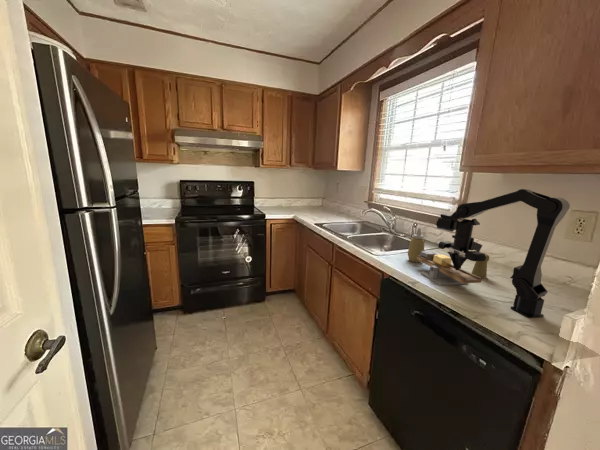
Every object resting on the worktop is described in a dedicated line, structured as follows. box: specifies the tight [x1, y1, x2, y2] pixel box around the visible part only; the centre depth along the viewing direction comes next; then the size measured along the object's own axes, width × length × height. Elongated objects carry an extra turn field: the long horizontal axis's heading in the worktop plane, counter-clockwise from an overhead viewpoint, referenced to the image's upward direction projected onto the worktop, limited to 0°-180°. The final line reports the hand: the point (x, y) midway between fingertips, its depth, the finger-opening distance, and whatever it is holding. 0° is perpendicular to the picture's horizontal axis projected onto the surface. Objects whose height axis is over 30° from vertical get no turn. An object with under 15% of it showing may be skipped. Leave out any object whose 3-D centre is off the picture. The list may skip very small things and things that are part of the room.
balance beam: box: [417, 256, 483, 284], centre depth 112 cm, size 28×9×2 cm, turn 12°
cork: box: [470, 253, 490, 280], centre depth 117 cm, size 6×6×11 cm
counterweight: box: [420, 250, 438, 260], centre depth 123 cm, size 5×5×3 cm
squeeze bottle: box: [407, 227, 425, 263], centre depth 134 cm, size 8×8×18 cm
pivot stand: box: [420, 266, 469, 286], centre depth 113 cm, size 12×15×6 cm
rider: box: [433, 254, 452, 267], centre depth 114 cm, size 5×5×4 cm
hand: (456, 270), depth 107 cm, fingers closed
